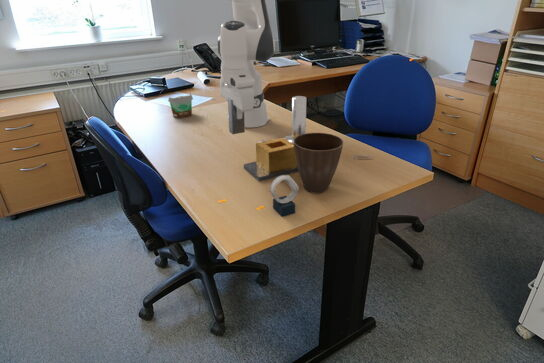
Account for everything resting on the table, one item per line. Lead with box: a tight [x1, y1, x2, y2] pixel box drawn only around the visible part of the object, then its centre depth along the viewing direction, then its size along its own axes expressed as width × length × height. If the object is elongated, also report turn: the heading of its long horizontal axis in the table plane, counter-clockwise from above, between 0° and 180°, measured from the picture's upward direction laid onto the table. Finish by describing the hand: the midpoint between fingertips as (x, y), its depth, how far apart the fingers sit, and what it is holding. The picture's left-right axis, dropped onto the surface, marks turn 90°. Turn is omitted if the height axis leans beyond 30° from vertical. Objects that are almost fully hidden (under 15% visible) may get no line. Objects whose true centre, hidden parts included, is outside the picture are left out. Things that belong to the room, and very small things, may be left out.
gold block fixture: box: [243, 95, 307, 182], centre depth 136 cm, size 17×24×24 cm
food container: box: [167, 93, 194, 119], centre depth 191 cm, size 12×6×10 cm, turn 126°
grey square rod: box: [227, 98, 246, 135], centre depth 133 cm, size 3×4×12 cm, turn 118°
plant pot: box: [294, 132, 344, 194], centre depth 122 cm, size 15×15×16 cm
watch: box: [269, 174, 300, 218], centre depth 111 cm, size 6×8×11 cm
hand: (236, 116), depth 133 cm, fingers closed on grey square rod, 3 cm apart
